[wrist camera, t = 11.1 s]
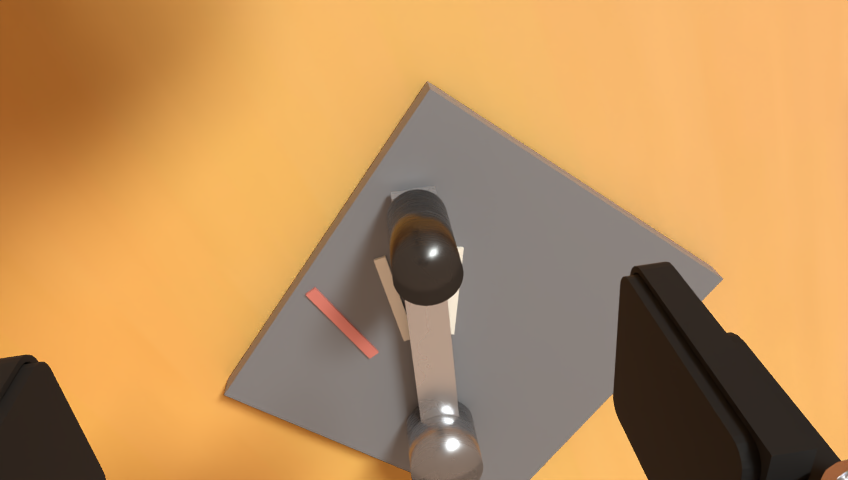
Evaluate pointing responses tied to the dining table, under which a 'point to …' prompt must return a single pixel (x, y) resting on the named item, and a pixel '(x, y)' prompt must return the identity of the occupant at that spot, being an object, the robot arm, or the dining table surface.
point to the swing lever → (431, 335)
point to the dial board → (461, 300)
